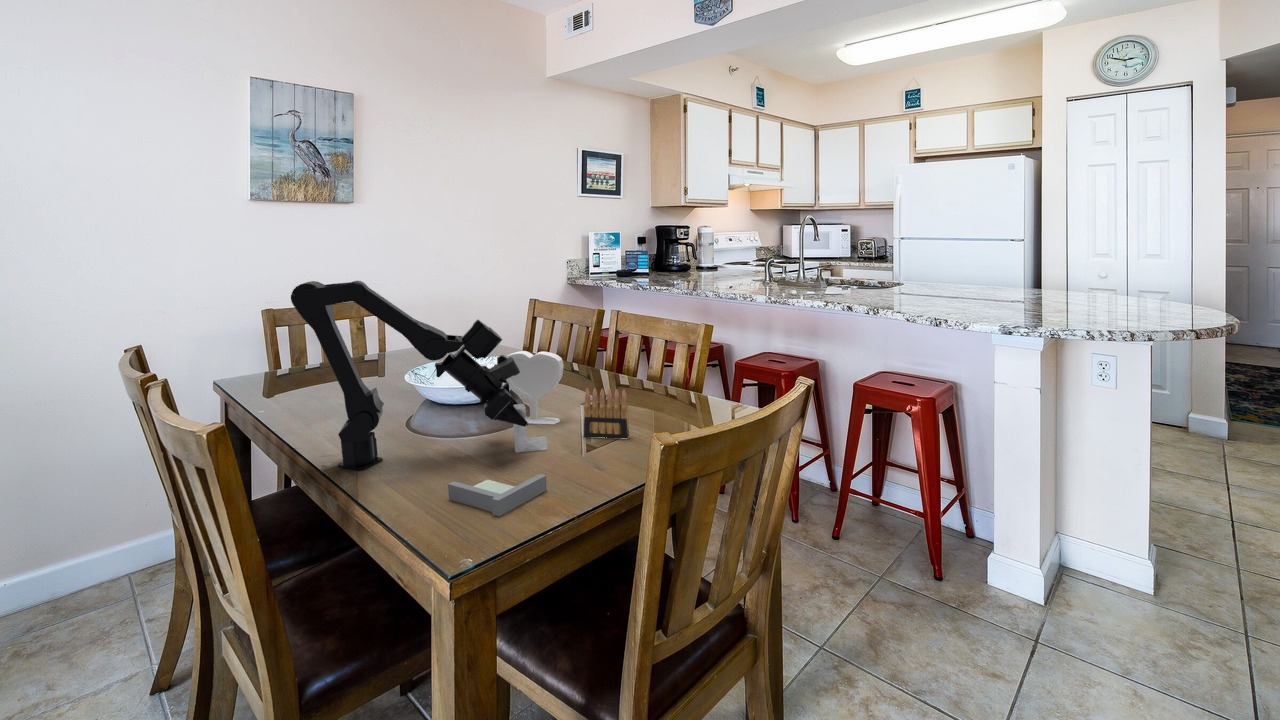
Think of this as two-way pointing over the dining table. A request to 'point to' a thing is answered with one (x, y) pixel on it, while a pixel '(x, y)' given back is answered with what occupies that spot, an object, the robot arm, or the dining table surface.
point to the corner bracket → (497, 495)
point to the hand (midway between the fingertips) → (524, 418)
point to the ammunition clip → (606, 416)
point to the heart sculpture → (536, 380)
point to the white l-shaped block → (521, 439)
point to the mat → (494, 486)
